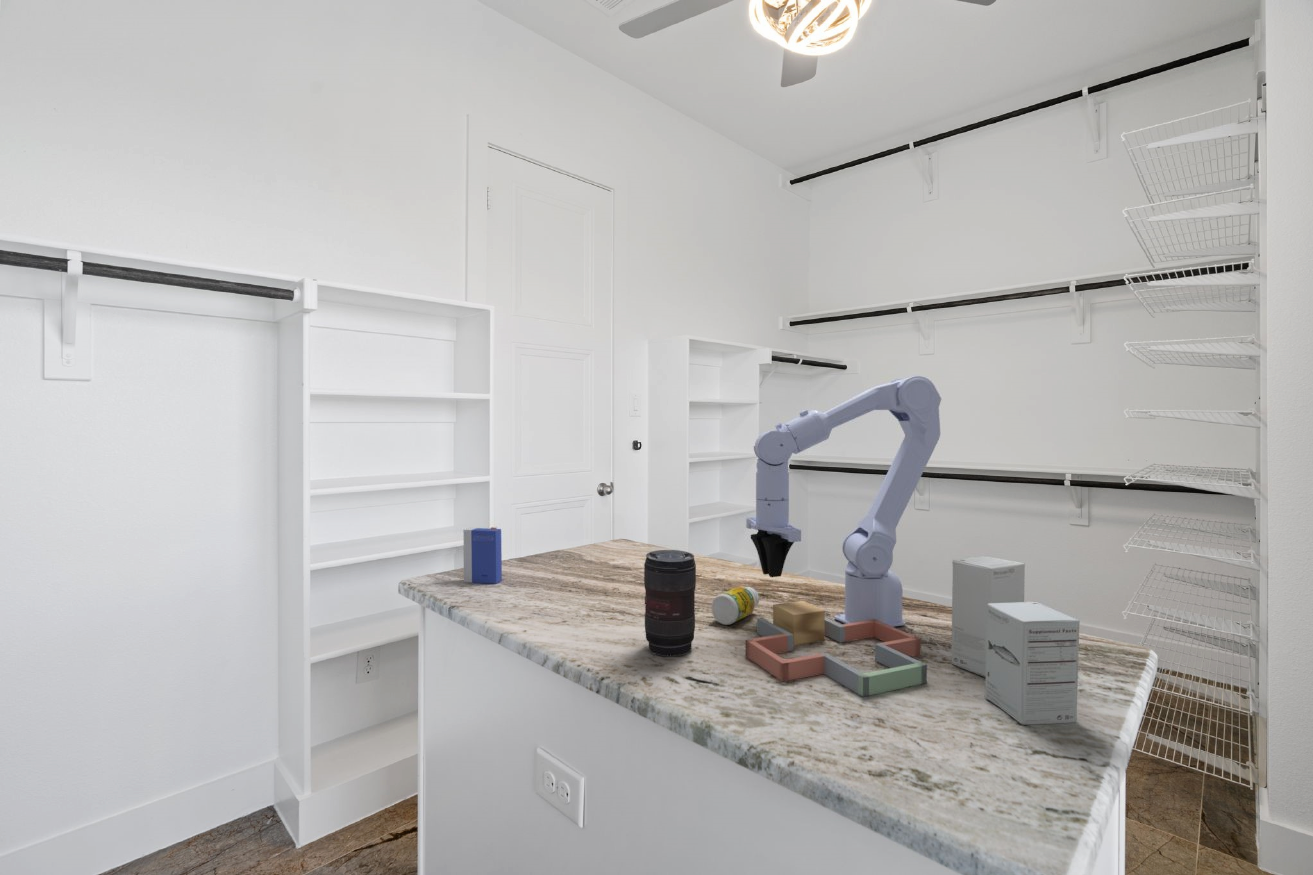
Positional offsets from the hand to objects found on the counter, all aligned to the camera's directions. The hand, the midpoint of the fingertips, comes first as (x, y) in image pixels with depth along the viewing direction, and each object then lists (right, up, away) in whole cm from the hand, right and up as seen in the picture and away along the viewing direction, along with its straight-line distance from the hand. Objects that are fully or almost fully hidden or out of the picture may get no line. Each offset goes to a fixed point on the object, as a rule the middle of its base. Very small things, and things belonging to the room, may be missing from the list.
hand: (771, 574), depth 111 cm
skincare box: (+28, -9, -20) cm, 35 cm away
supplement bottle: (-9, -6, -2) cm, 11 cm away
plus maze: (+7, -9, -15) cm, 19 cm away
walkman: (-59, -8, +28) cm, 66 cm away
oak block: (+3, -9, -7) cm, 12 cm away
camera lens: (-18, -9, -13) cm, 24 cm away
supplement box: (+26, -10, -33) cm, 43 cm away
